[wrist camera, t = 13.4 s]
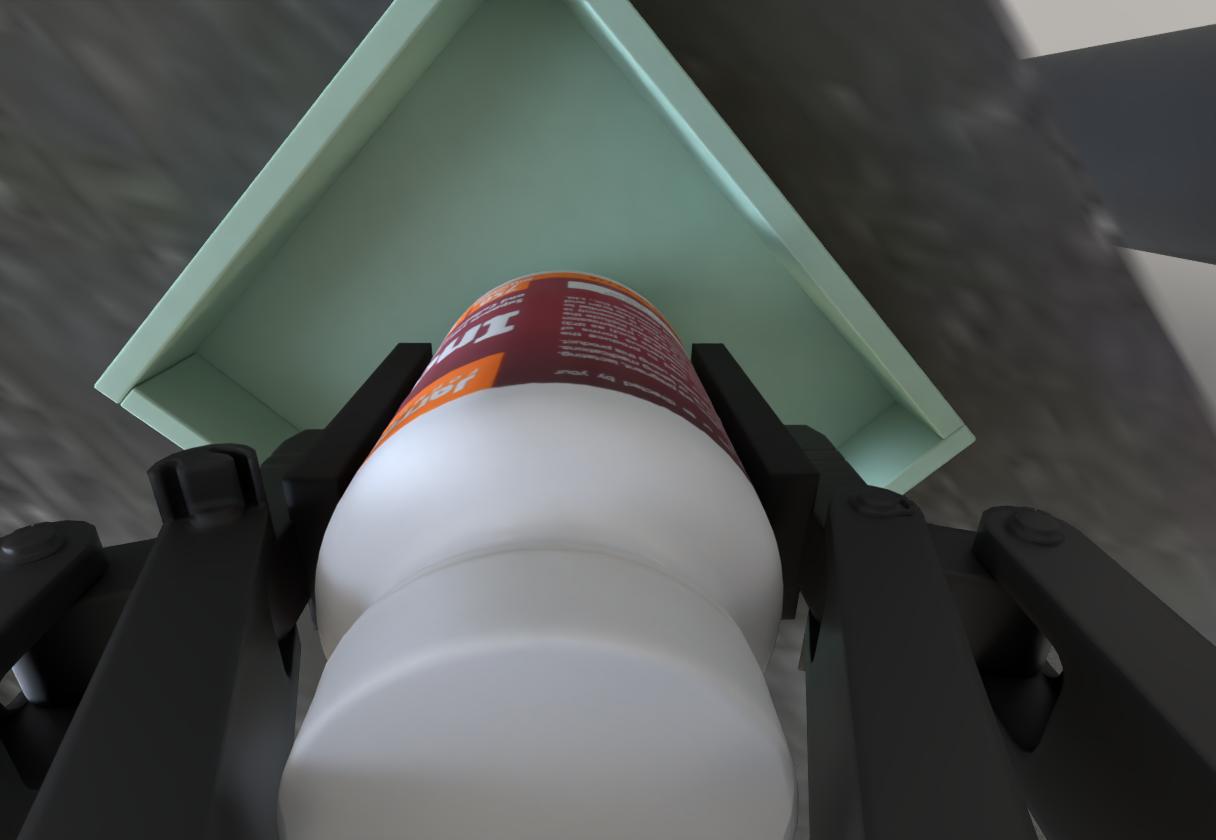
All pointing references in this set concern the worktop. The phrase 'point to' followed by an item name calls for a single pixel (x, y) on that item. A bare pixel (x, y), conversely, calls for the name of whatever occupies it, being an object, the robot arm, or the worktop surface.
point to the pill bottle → (547, 598)
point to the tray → (515, 238)
